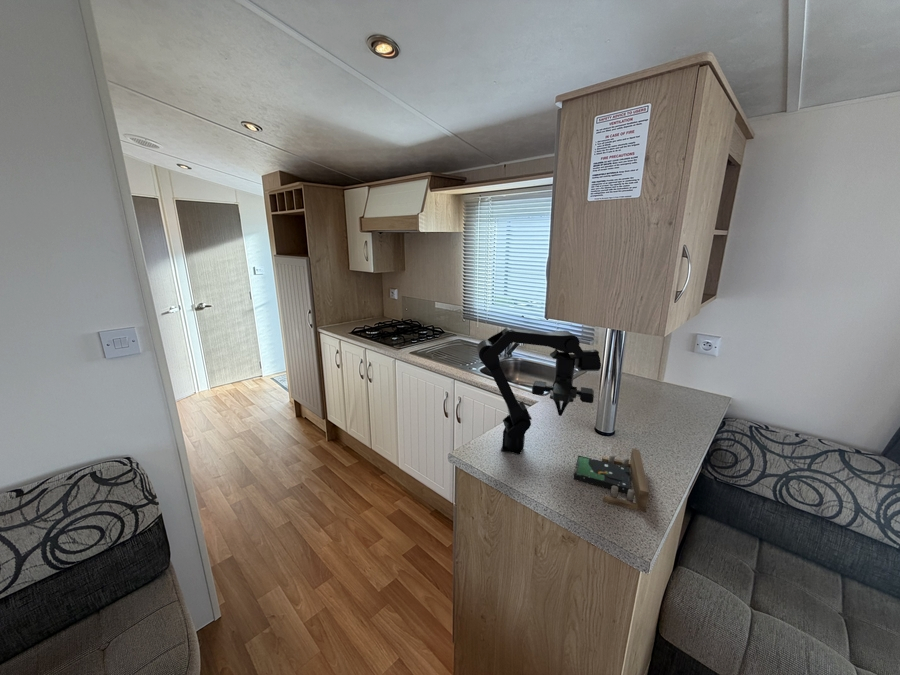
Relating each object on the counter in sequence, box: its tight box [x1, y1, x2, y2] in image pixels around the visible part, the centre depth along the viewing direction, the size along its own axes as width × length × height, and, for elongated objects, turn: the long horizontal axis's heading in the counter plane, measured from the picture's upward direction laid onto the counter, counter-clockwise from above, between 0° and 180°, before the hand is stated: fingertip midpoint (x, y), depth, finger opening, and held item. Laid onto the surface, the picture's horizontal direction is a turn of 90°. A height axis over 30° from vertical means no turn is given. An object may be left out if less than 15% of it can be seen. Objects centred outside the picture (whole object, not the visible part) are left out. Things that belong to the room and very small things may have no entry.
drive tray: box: [601, 448, 650, 513], centre depth 100 cm, size 10×20×6 cm, turn 159°
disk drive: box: [572, 455, 631, 495], centre depth 104 cm, size 10×3×15 cm
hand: (560, 415), depth 115 cm, fingers closed
